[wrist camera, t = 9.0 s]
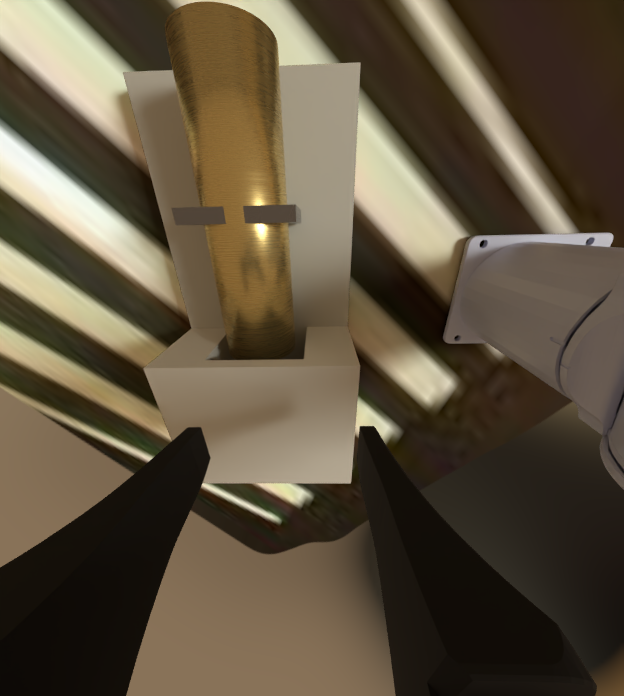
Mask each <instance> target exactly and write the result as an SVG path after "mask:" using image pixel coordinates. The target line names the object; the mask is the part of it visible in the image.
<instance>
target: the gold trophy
mask: <svg viewBox="0 0 624 696" xmlns="http://www.w3.org/2000/svg"><path fill="white" fill-rule="evenodd" d="M165 34H166V39H167V44H168V49H169V54H170V59H171V64H172V69H173V74H174V79H175V84H176V89H177V94H178V99H179V104H180V109H181V114H182V119H183V124H184V129H185V134H186V139H187V144H188V149H189V154H190V159H191V164H192V169H193V174H194V179H195V184H196V189H197V194H198V199H199V204H200V207H183V208H171V209H172V213H173V217H174V221H175V225H204V229H205V234H206V239H207V243H208V248H209V253H210V258H211V263H212V268H213V273H214V278H215V283H216V288H217V293H218V298H219V303H220V308H221V313H222V318H223V323H224V328H225V333H226V338H227V343H228V348H229V353H230V355H231V357H233V358H234V359H236V360H278V359H281V358H283V357H285V356H287V355H289V354H290V353H291V352H292V351H293V350H294V349H295V345H296V344H295V327H294V310H293V294H292V277H291V260H290V243H289V226H288V223H301V210H300V209H299V208H298V207H297V205H296V204H293V205H287V192H286V175H285V158H284V142H283V125H282V108H281V91H280V74H279V57H278V44H277V40H276V38H275V36H274V34H273V32H272V31H271V30H270V28H269V27H268V26H267V25H266V24H265V23H264V22H263V21H261V20H260V19H259V18H257V17H256V16H254V15H253V14H251V13H249V12H247V11H245V10H243V9H240V8H238V7H235V6H232V5H228V4H224V3H218V2H195V3H190V4H186V5H184V6H181V7H179V8H178V9H176V10H174V11H173V12H172V13H171V14H170V15H169V17H168V18H167V21H166V23H165Z"/></svg>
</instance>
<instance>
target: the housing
mask: <svg viewBox="0 0 624 696" xmlns="http://www.w3.org/2000/svg"><path fill="white" fill-rule="evenodd" d="M279 74H280V91H281V108H282V125H283V142H284V158H285V175H286V192H287V205H293V204H296V205H297V207H298V208H299V209H300V210H301V223H288V226H289V243H290V260H291V277H292V294H293V310H294V327H295V344H296V345H295V349H294V350H293V351H292V352H291V353H290V354H289V355H287V356H285V357H283V358H281V359H278V360H236V359H234V358H233V357H231V355H230V353H229V348H228V343H227V338H226V333H225V328H224V323H223V318H222V313H221V308H220V303H219V298H218V293H217V288H216V283H215V278H214V273H213V268H212V263H211V258H210V253H209V248H208V243H207V239H206V234H205V229H204V225H175V221H174V217H173V213H172V209H171V208H183V207H200V204H199V199H198V194H197V189H196V184H195V179H194V174H193V169H192V164H191V159H190V154H189V149H188V144H187V139H186V134H185V129H184V124H183V119H182V114H181V109H180V104H179V99H178V94H177V89H176V84H175V79H174V74H173V70H167V71H143V72H123V75H124V79H125V82H126V86H127V90H128V94H129V97H130V101H131V105H132V109H133V112H134V116H135V120H136V124H137V127H138V131H139V135H140V138H141V142H142V146H143V150H144V153H145V157H146V161H147V165H148V168H149V172H150V176H151V179H152V183H153V187H154V191H155V194H156V198H157V202H158V206H159V209H160V213H161V217H162V221H163V224H164V228H165V232H166V235H167V239H168V243H169V247H170V250H171V254H172V258H173V262H174V265H175V269H176V273H177V277H178V280H179V284H180V288H181V291H182V295H183V299H184V303H185V306H186V310H187V314H188V318H189V321H190V325H191V329H190V330H189V331H188V332H187V333H185V334H184V335H183V336H182V337H181V338H179V339H178V340H177V341H176V342H174V343H173V344H172V345H171V346H170V347H168V348H167V349H166V350H165V351H164V352H162V353H161V354H160V355H159V356H157V357H156V358H155V359H154V360H153V361H151V362H150V363H149V364H148V365H147V366H145V367H144V368H143V369H144V372H145V374H146V377H147V379H148V382H149V384H150V387H151V389H152V392H153V394H154V397H155V399H156V402H157V404H158V407H159V409H160V412H161V414H162V417H163V419H164V422H165V425H166V427H167V430H168V432H169V435H170V437H171V440H172V441H173V440H174V439H175V438H176V437H177V436H178V435H180V434H181V433H182V432H183V431H184V430H185V429H186V428H188V427H201V428H202V432H203V435H204V438H205V441H206V445H207V448H208V451H209V454H210V457H211V459H210V462H209V465H208V469H207V472H206V475H205V478H204V481H203V483H351V475H352V463H353V450H354V438H355V425H356V412H357V400H358V387H359V375H360V364H359V360H358V357H357V354H356V351H355V348H354V345H353V341H352V338H351V335H350V332H349V329H348V310H349V290H350V269H351V248H352V227H353V207H354V186H355V165H356V144H357V124H358V103H359V82H360V63H338V64H313V65H289V66H279Z"/></svg>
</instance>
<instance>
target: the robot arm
mask: <svg viewBox="0 0 624 696" xmlns="http://www.w3.org/2000/svg"><path fill="white" fill-rule="evenodd" d="M587 239H589V240H588V242H587V243H586V241H587ZM482 240H484V244H483V246H482V247H480V242H481V241H482ZM612 241H613V235H612V233H570V234H527V235H485V236H472V237H470V238H469V239H468V240H467V242H466V245H465V249H464V253H463V257H462V261H461V265H460V269H459V274H458V278H457V282H456V286H455V290H454V294H453V298H452V302H451V306H450V310H449V314H448V318H447V323H446V327H445V331H444V335H443V340H444V341H445V342H446V343H449V344H457V343H488V344H490V345H491V346H493V347H494V348H496V349H497V350H499V351H500V352H502V353H503V354H505V355H506V356H508V357H509V358H510V359H512V360H513V361H515V362H516V363H518V364H519V365H521V366H522V367H524V368H525V369H527V370H528V371H529V372H531V373H532V374H534V375H535V376H537V377H538V378H540V379H541V380H543V381H544V382H546V383H547V384H549V385H550V386H551V387H553V388H554V389H556V390H557V391H559V392H560V393H562V394H563V395H565V396H566V397H568V398H569V399H571V400H572V401H573V402H574V403H575V404H576V405H577V406H578V409H579V413H578V418H580V419H581V420H583V421H584V422H585V423H587V424H588V425H589V426H591V427H592V428H593V429H595V430H596V431H597V432H599V433H600V434H602V435H603V437H602V440H601V444H600V453H601V458H602V460H603V462H604V465H605V467H606V468H607V470H608V471H609V473H610V474H611V475H612V477H613V478H614V480H615V481H616V482H617V483H618V484H619V485H620V486H621V487H622V488H623V489H624V248H617V247H610V245H611V243H612ZM457 335H458V338H456V339H454V338H455V336H457ZM210 459H211V457H210V454H209V451H208V448H207V445H206V441H205V438H204V435H203V432H202V428H201V427H188V428H186V429H185V430H184V431H183V432H182V433H181V434H180V435H178V436H177V437H176V438H175V439H174V440H173V441H172V442H171V443H169V444H168V445H167V446H166V447H165V448H164V449H163V450H162V451H161V452H159V453H158V454H157V455H156V456H155V457H154V458H153V459H151V460H150V461H149V462H148V463H147V464H146V465H145V466H144V467H142V468H141V469H140V470H139V471H138V472H136V473H135V474H134V475H133V476H131V477H130V478H129V479H128V480H127V481H125V482H124V483H123V484H122V485H121V486H120V487H118V488H117V489H116V490H114V491H113V492H112V493H111V494H109V495H108V496H107V497H105V498H104V499H103V500H102V501H100V502H99V503H97V504H96V505H95V506H93V507H92V508H90V509H89V510H88V511H86V512H85V513H84V514H82V515H81V516H79V517H78V518H77V519H75V520H74V521H72V522H71V523H69V524H68V525H66V526H65V527H63V528H62V529H60V530H59V531H57V532H56V533H54V534H53V535H51V536H50V537H48V538H47V539H45V540H44V541H42V542H41V543H39V544H38V545H36V546H35V547H33V548H31V549H30V550H28V551H27V552H25V553H23V554H22V555H20V556H19V557H17V558H15V559H14V560H12V561H10V562H9V563H7V564H5V565H4V566H2V567H0V696H126V694H127V690H128V687H129V683H130V680H131V676H132V673H133V669H134V666H135V662H136V659H137V655H138V652H139V649H140V646H141V642H142V639H143V636H144V633H145V630H146V626H147V623H148V620H149V617H150V614H151V610H152V608H153V605H154V602H155V599H156V596H157V593H158V590H159V587H160V584H161V581H162V578H163V575H164V573H165V570H166V567H167V564H168V562H169V559H170V556H171V553H172V551H173V548H174V546H175V543H176V541H177V538H178V536H179V534H180V532H181V529H182V527H183V525H184V523H185V521H186V519H187V516H188V514H189V512H190V510H191V508H192V506H193V503H194V501H195V499H196V497H197V494H198V492H199V490H200V488H201V485H202V483H203V481H204V478H205V475H206V472H207V469H208V465H209V462H210ZM357 462H358V470H359V477H360V483H361V488H362V492H363V497H364V501H365V505H366V510H367V514H368V518H369V522H370V527H371V531H372V535H373V540H374V545H375V550H376V555H377V562H378V569H379V576H380V582H381V589H382V596H383V603H384V610H385V617H386V624H387V632H388V639H389V646H390V654H391V662H392V670H393V678H394V686H395V694H396V696H595V694H596V689H597V686H596V684H595V682H594V680H593V679H592V678H591V676H590V674H589V672H588V671H587V669H586V668H585V666H584V664H583V663H582V661H581V659H580V658H579V656H578V654H577V653H576V651H575V650H574V648H573V647H572V645H571V644H570V642H569V641H568V639H567V638H566V637H565V635H564V634H563V632H562V631H561V629H560V628H559V626H558V625H557V624H556V623H555V622H554V621H553V620H552V619H550V618H549V617H548V616H547V615H546V614H544V613H543V612H542V611H541V610H540V609H538V608H537V607H536V606H535V605H534V604H533V603H532V602H530V601H529V600H528V599H527V598H526V597H525V596H523V595H522V594H521V593H520V592H519V591H518V590H517V589H515V588H514V587H513V586H512V585H511V584H510V583H509V582H508V581H506V580H505V579H504V578H503V577H502V576H501V575H500V574H499V573H498V572H496V571H495V570H494V569H493V568H492V567H491V566H490V565H489V564H488V563H487V562H486V561H485V560H484V559H483V558H482V557H481V556H480V555H479V554H478V553H477V552H476V551H475V550H474V549H472V547H470V546H469V545H468V544H467V543H466V542H465V541H464V540H463V539H462V538H461V537H460V536H459V535H458V534H457V533H456V532H455V531H454V530H453V528H451V526H450V525H449V524H448V523H447V522H446V521H445V520H444V519H443V518H442V517H441V516H440V515H439V513H438V512H437V511H436V510H435V509H434V508H433V507H432V506H431V504H430V503H429V502H428V501H427V500H426V499H425V497H424V496H423V495H422V494H421V492H420V491H419V490H418V489H417V487H416V486H415V485H414V484H413V482H412V481H411V480H410V479H409V477H408V476H407V475H406V473H405V472H404V471H403V469H402V468H401V466H400V465H399V464H398V462H397V461H396V459H395V458H394V457H393V455H392V454H391V452H390V451H389V449H388V448H387V446H386V444H385V443H384V441H383V440H382V438H381V436H380V435H379V433H378V431H377V430H376V428H375V427H374V426H360V431H359V442H358V453H357Z"/></svg>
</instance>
